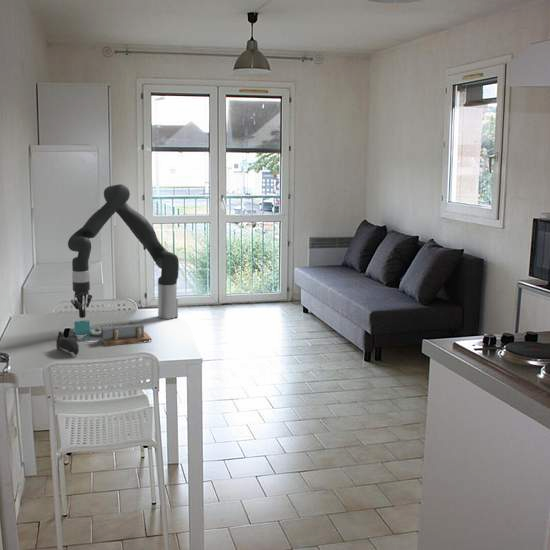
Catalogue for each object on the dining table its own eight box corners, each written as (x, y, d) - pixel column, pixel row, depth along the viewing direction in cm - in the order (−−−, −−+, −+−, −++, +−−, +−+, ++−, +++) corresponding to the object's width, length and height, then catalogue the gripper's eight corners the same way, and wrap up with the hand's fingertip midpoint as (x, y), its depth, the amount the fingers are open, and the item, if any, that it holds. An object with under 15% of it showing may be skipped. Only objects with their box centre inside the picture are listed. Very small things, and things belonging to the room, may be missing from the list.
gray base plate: (105, 328, 333) (105, 327, 333) (112, 338, 317) (112, 337, 317) (72, 330, 327) (72, 330, 327) (78, 341, 311) (78, 340, 311)
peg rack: (145, 335, 323) (145, 323, 322) (151, 341, 313) (151, 329, 312) (101, 339, 315) (100, 326, 314) (105, 345, 305) (105, 332, 304)
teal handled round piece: (74, 332, 323) (74, 319, 322) (106, 330, 327) (106, 317, 326) (74, 336, 315) (74, 323, 314) (107, 335, 319) (107, 322, 318)
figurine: (52, 356, 297) (68, 358, 286) (49, 332, 297) (65, 334, 285) (69, 353, 302) (85, 355, 291) (66, 329, 302) (82, 331, 290)
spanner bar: (141, 334, 319) (141, 323, 318) (144, 337, 314) (144, 326, 313) (101, 337, 312) (100, 326, 311) (103, 340, 307) (102, 329, 306)
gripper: (78, 283, 311) (80, 321, 314) (96, 278, 323) (98, 315, 326) (64, 282, 314) (66, 320, 317) (83, 276, 326) (84, 313, 329)
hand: (82, 317), depth 322 cm, fingers closed
